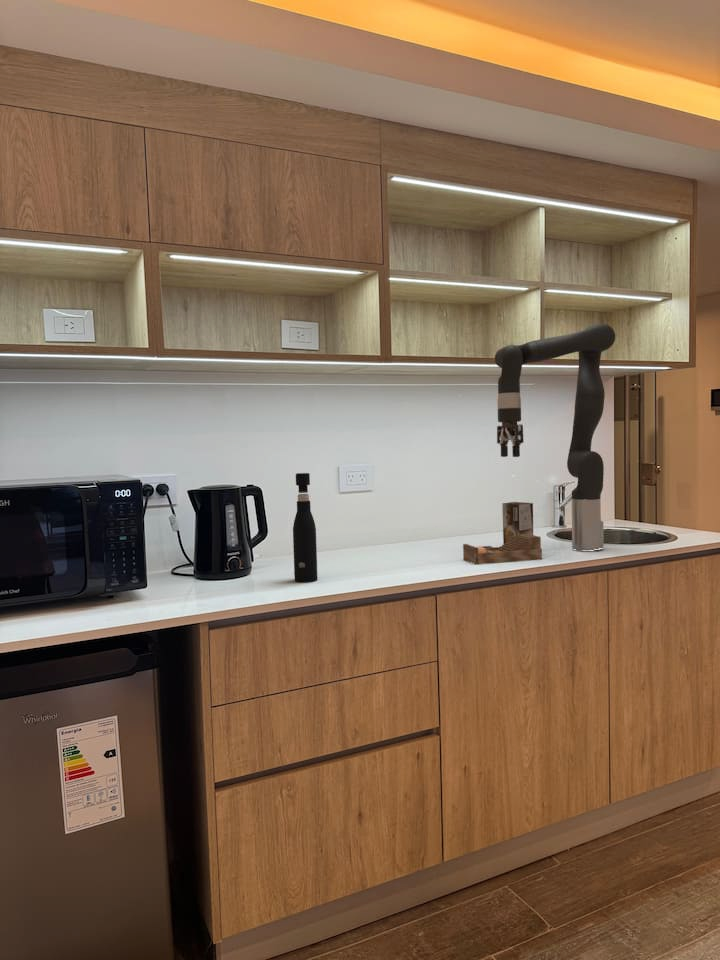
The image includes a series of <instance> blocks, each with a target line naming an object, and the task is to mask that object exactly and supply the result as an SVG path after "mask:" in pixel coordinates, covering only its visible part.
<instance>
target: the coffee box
mask: <svg viewBox="0 0 720 960" xmlns="http://www.w3.org/2000/svg"><path fill="white" fill-rule="evenodd" d="M501 505H502V539H503V540H502V541H503V544H502V545H504V543H507V541H510V540H512V538H515V536H517V535H518V534H531V535H534V503H533V502H523V501H511V502H502V503H501Z"/></svg>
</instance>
